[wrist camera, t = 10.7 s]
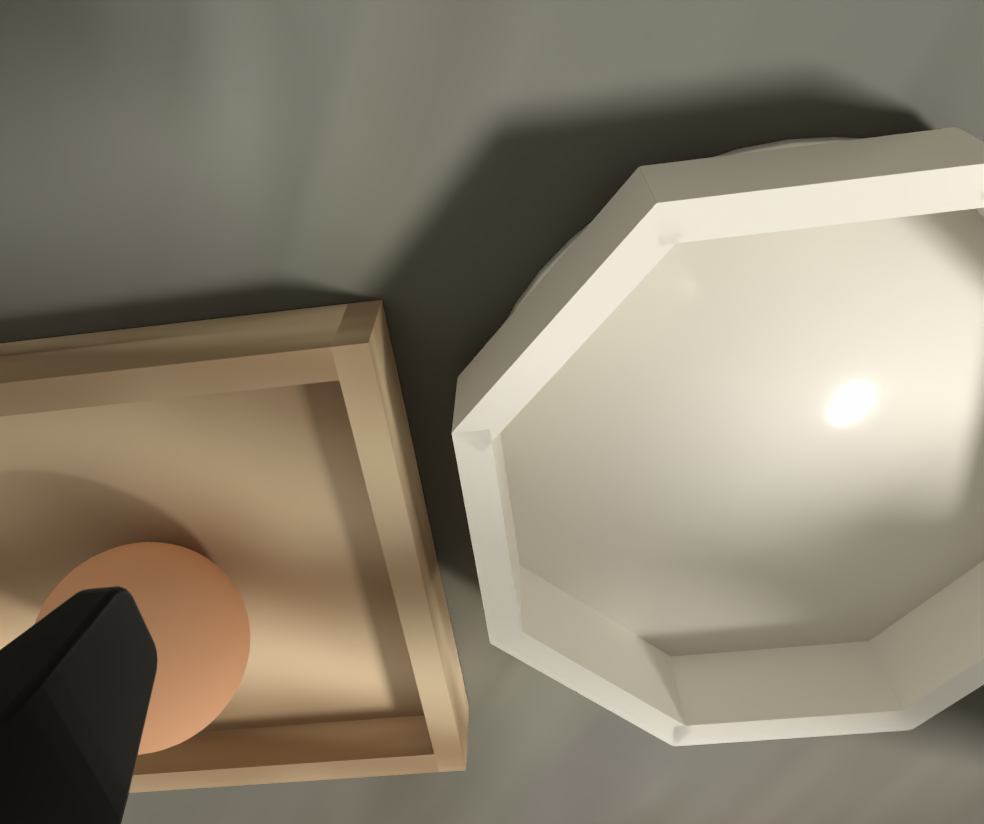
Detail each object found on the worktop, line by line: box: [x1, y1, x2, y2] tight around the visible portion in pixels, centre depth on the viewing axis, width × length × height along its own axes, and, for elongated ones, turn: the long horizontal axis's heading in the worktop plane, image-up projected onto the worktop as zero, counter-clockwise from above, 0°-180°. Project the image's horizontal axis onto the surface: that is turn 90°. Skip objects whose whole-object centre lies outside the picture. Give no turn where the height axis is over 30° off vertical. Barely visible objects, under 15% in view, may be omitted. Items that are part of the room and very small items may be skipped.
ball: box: [35, 542, 250, 755], centre depth 21 cm, size 5×5×5 cm
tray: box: [0, 300, 469, 793], centre depth 23 cm, size 14×14×2 cm
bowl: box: [452, 127, 984, 746], centre depth 20 cm, size 15×15×3 cm
